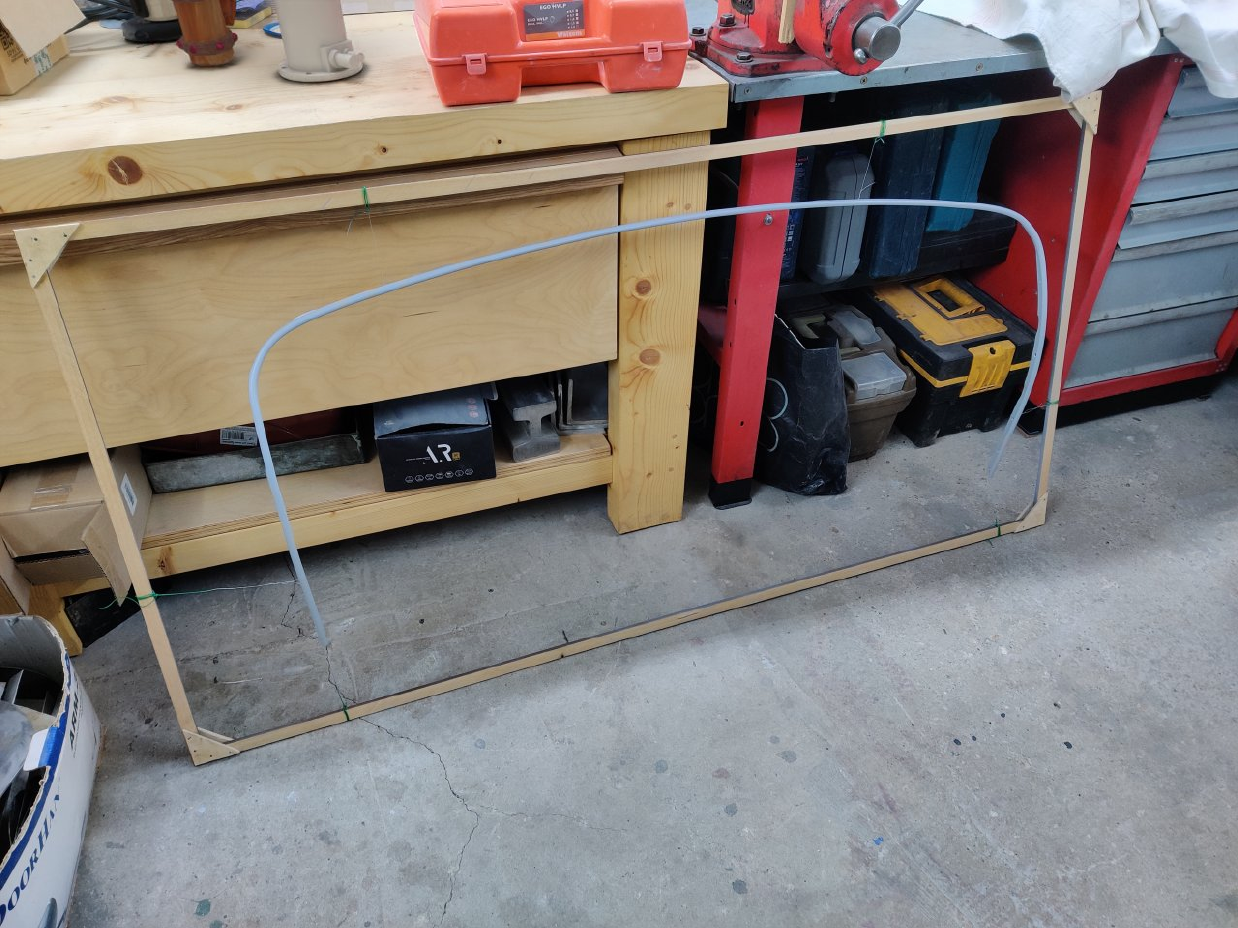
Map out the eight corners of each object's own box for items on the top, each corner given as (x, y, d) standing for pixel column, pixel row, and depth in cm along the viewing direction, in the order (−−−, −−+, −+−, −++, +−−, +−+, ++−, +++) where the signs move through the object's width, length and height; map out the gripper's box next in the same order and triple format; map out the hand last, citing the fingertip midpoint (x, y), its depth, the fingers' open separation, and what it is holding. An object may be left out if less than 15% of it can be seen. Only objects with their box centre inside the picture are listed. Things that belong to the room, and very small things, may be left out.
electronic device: (216, 34, 160) (124, 29, 155) (212, 1, 156) (117, -5, 151) (218, 55, 154) (122, 50, 149) (213, 21, 150) (114, 15, 145)
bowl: (195, 15, 152) (187, -14, 150) (158, 23, 148) (149, -6, 145) (169, 9, 155) (161, -19, 153) (133, 18, 151) (123, -11, 148)
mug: (220, 73, 137) (190, -36, 127) (173, 70, 138) (140, -39, 128) (267, 48, 148) (243, -55, 138) (223, 45, 149) (196, -56, 140)
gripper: (89, -102, 133) (130, 25, 144) (188, -115, 144) (219, 4, 155) (60, -106, 136) (103, 19, 147) (160, -118, 147) (192, -1, 158)
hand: (163, 11), depth 151 cm, fingers closed on bowl, 7 cm apart
